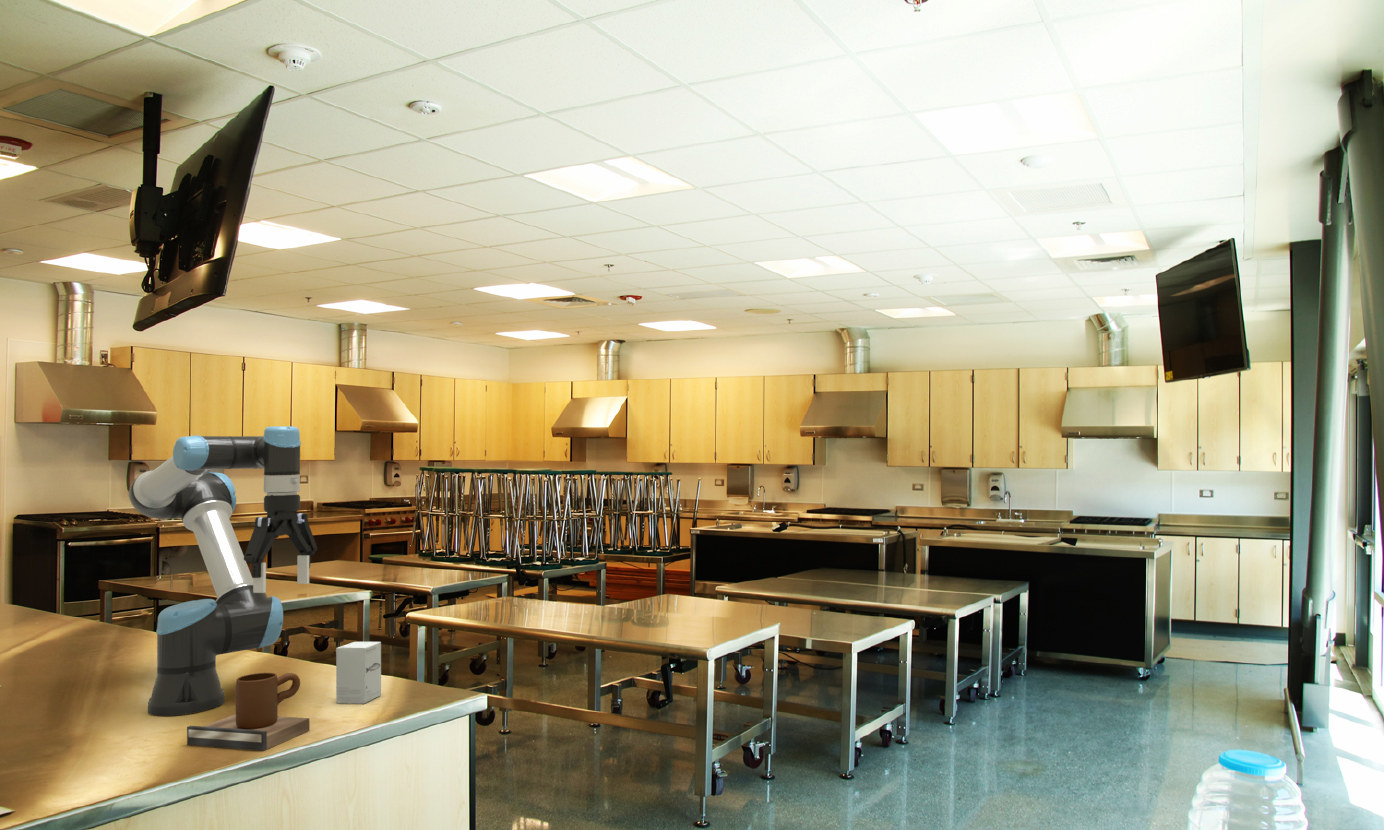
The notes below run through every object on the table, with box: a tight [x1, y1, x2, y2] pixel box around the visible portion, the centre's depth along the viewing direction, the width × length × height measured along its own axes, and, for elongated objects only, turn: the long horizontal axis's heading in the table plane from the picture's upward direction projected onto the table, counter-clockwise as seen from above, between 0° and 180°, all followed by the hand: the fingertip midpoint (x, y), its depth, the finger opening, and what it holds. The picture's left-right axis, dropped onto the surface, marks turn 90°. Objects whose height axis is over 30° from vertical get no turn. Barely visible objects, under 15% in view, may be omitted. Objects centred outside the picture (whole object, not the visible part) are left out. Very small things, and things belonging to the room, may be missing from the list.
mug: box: [235, 672, 301, 729], centre depth 181 cm, size 12×8×9 cm, turn 127°
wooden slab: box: [186, 713, 311, 752], centre depth 179 cm, size 18×13×4 cm
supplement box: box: [335, 641, 382, 705], centre depth 206 cm, size 7×7×13 cm
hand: (282, 588), depth 203 cm, fingers open, 13 cm apart
